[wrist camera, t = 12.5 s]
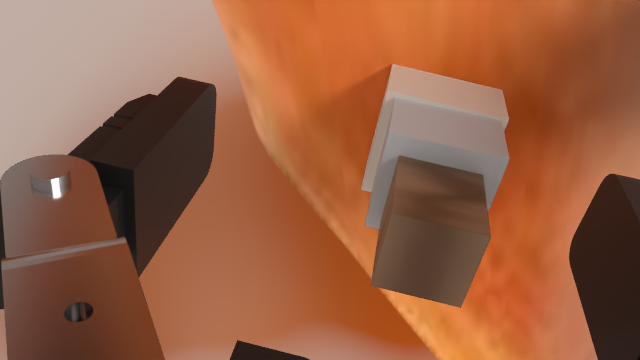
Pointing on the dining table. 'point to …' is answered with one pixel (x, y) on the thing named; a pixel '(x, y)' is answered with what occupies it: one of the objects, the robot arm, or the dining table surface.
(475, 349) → the dining table surface
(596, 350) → the robot arm
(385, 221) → the walnut block
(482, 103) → the tower base
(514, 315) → the dining table surface
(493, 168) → the tower top
